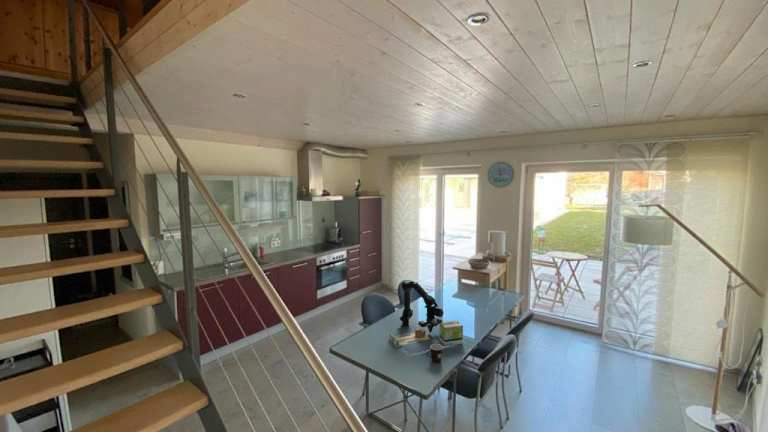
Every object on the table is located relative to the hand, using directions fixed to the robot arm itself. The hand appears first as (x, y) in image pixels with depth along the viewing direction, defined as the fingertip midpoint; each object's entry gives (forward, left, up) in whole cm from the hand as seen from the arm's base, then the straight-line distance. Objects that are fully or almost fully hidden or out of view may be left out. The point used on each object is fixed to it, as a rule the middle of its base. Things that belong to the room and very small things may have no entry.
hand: (430, 332), depth 258 cm
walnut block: (0, -9, -1) cm, 9 cm away
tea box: (+16, +9, -3) cm, 18 cm away
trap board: (0, -18, -2) cm, 18 cm away
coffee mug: (+33, -16, -3) cm, 36 cm away
